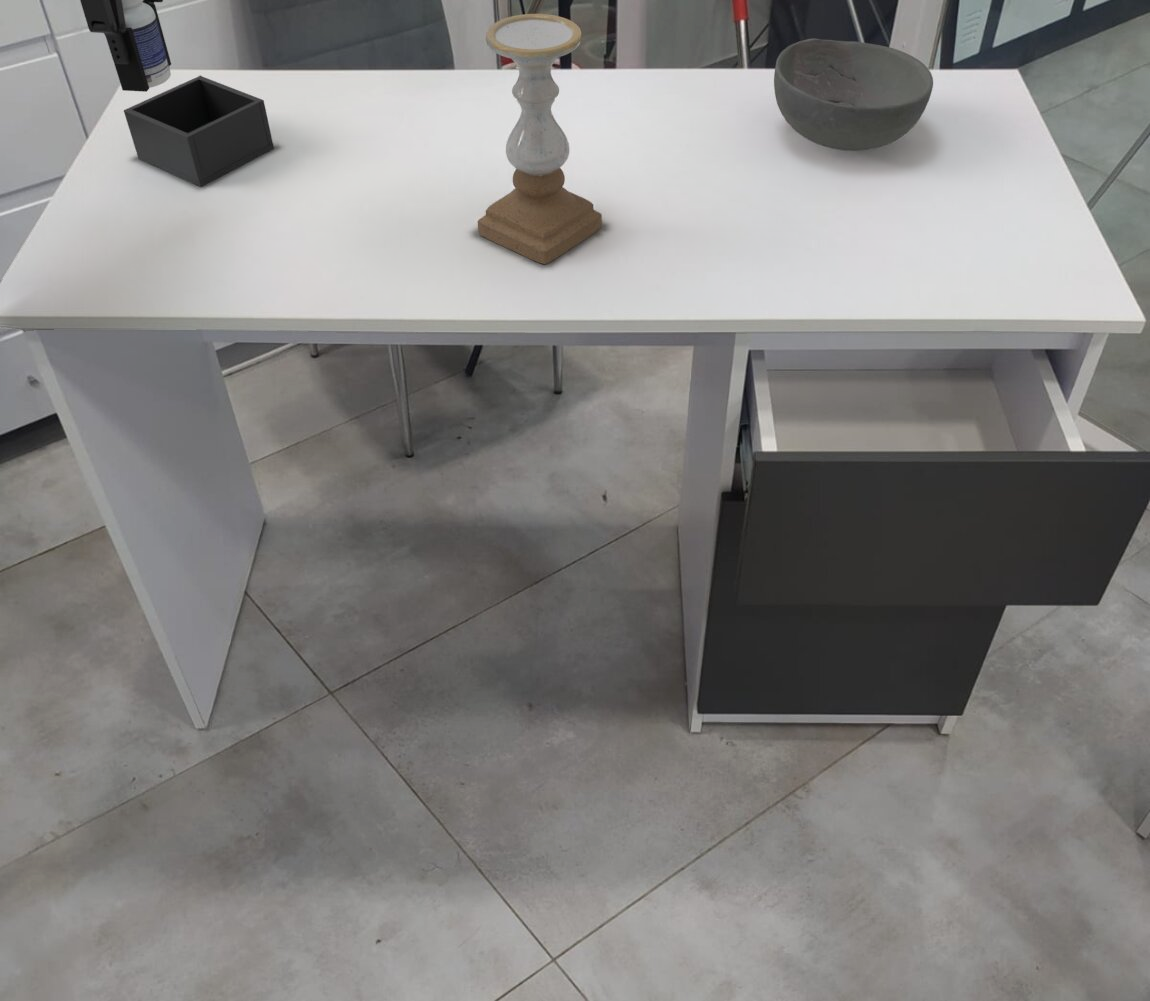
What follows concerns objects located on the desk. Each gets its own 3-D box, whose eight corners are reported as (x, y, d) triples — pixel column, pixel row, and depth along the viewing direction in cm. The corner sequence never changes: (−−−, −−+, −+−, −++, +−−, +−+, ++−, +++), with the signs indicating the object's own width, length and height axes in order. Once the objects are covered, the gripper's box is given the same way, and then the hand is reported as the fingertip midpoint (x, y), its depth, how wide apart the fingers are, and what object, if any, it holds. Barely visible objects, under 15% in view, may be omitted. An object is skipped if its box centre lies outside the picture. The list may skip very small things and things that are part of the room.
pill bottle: (181, 72, 123) (157, -19, 116) (153, 93, 119) (127, 0, 113) (139, 66, 124) (113, -25, 117) (110, 86, 121) (82, -6, 114)
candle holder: (545, 265, 129) (538, 62, 112) (476, 234, 134) (460, 35, 117) (604, 226, 135) (606, 28, 118) (536, 197, 140) (529, 3, 123)
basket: (200, 187, 142) (187, 137, 138) (138, 158, 148) (123, 110, 143) (274, 148, 150) (263, 99, 145) (212, 123, 155) (200, 75, 150)
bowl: (811, 188, 141) (823, 113, 134) (741, 119, 155) (749, 47, 147) (949, 161, 146) (967, 87, 138) (869, 96, 159) (882, 25, 152)
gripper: (71, -132, 98) (146, 117, 115) (154, -188, 111) (210, 43, 128) (-9, -134, 99) (77, 114, 116) (83, -190, 112) (148, 40, 128)
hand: (147, 76), depth 122 cm, fingers closed on pill bottle, 5 cm apart
